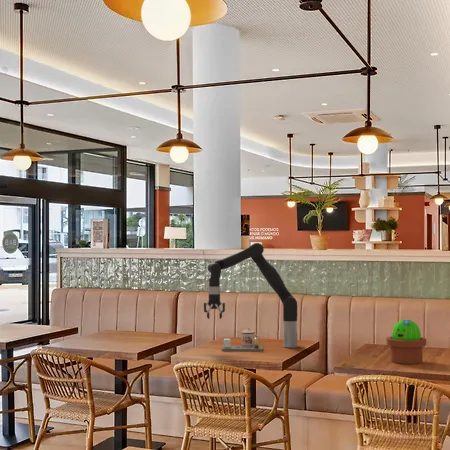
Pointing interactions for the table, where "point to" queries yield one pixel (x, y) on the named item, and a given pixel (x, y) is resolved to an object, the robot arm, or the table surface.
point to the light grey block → (226, 343)
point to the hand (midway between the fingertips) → (214, 318)
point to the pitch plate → (245, 347)
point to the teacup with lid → (248, 337)
